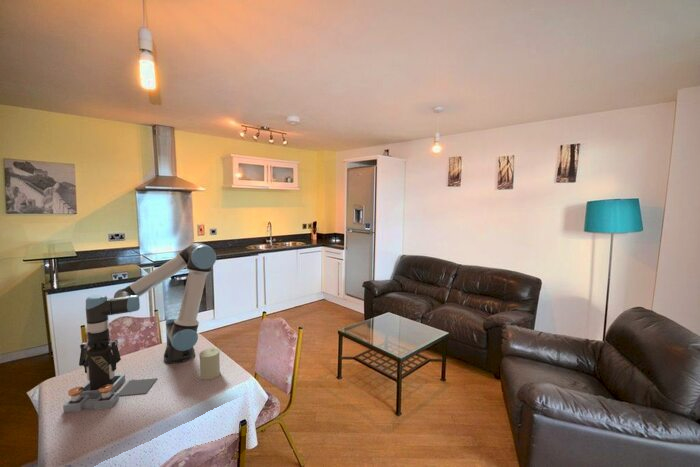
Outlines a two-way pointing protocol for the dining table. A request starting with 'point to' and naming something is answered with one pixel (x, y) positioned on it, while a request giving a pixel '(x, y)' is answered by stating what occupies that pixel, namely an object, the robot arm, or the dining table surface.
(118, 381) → the filter socket
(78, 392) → the plunger
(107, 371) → the container
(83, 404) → the plunger base
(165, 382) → the dining table surface
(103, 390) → the plunger
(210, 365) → the can
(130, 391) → the pad
